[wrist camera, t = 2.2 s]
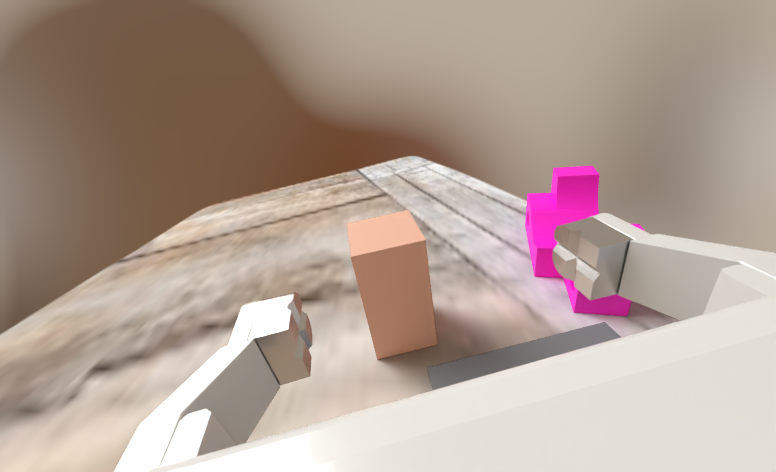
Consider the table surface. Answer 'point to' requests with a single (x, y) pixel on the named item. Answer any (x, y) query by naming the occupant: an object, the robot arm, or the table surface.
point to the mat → (518, 355)
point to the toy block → (565, 205)
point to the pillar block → (393, 282)
